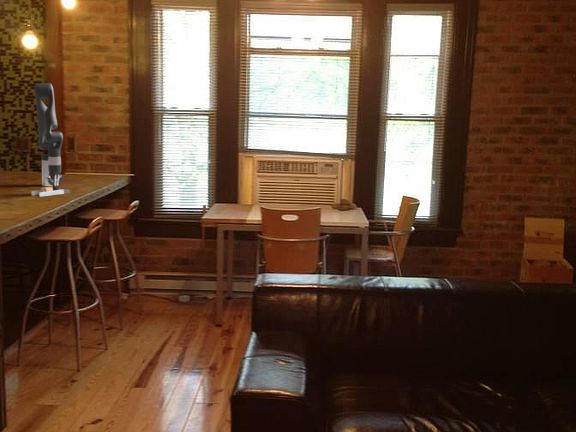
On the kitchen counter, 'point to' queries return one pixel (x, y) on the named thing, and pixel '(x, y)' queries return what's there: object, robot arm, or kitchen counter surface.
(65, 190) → the tray
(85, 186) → the kitchen counter surface
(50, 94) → the robot arm
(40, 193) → the channel
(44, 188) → the block
